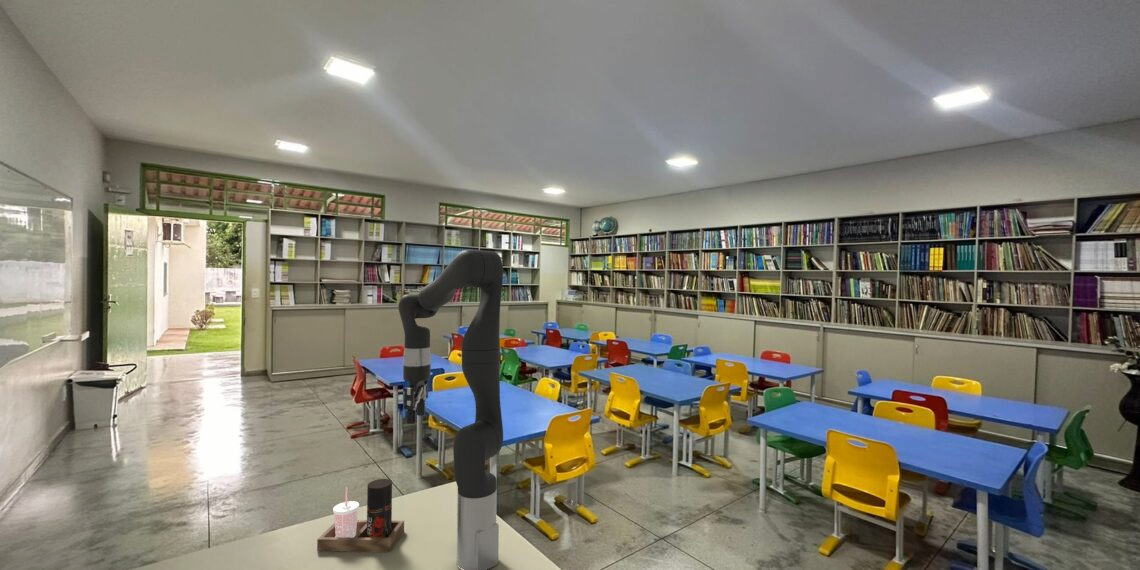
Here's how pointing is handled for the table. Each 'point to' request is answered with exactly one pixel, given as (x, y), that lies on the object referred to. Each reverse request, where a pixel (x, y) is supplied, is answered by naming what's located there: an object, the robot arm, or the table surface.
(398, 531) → the divided wooden tray
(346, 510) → the beverage cup
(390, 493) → the deodorant
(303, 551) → the table surface
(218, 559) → the table surface
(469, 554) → the robot arm
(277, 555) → the table surface
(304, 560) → the table surface
